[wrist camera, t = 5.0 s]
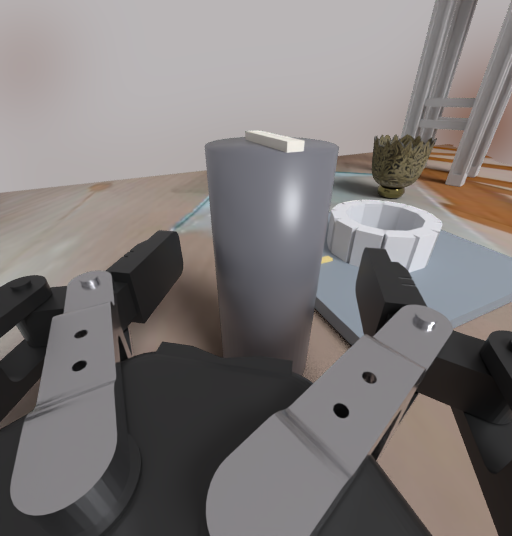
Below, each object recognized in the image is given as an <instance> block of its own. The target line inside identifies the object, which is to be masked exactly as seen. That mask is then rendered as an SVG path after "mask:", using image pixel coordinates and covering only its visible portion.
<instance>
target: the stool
mask: <svg viewBox="0 0 512 536" xmlns="http://www.w3.org/2000/svg"><path fill="white" fill-rule="evenodd" d="M477 1H478V0H436V1H435V5H434V9H433V13H432V17H431V21H430V25H429V28H428V32H427V36H426V40H425V44H424V48H423V52H422V56H421V60H420V64H419V68H418V72H417V76H416V80H415V84H414V88H413V91H412V96H411V99H410V103H409V107H408V111H407V115H406V119H405V123H404V127H403V131H402V135H401V138H402V137H404V136H405V135H407V134H408V135H410V136H412V137H413V138H414V139H415V138H416V137H418V136H421V137H422V139H421V141H423V142H425V144H426V142H427V141H428V140H429V139H430V138H431V137H433V140H434V138H435V135H436V132H437V129H452V130H464V133H463V136H462V139H461V141H460V144H459V147H458V149H457V152H456V155H455V158H454V161H453V163H452V166H451V169H450V172H449V174H448V177H447V180H446V183H445V184H447V185H453V186H459V187H460V186H462V185H463V184H464V182H465V180H466V177H467V176H468V177H475V176H477V175H478V172H479V170H480V167H481V165H482V163H483V160H484V158H485V155H486V153H487V151H488V148H489V146H490V143H491V141H492V138H493V136H494V134H495V131H496V129H497V127H498V124H499V121H500V119H501V117H502V115H503V112H504V110H505V107H506V105H507V102H508V100H509V98H510V95H511V93H512V0H511V3H510V6H509V8H508V11H507V14H506V17H505V19H504V22H503V25H502V28H501V31H500V33H499V36H498V39H497V42H496V44H495V47H494V50H493V53H492V55H491V58H490V61H489V64H488V67H487V70H486V72H485V75H484V78H483V81H482V83H481V86H480V89H479V91H478V94H477V97H476V98H447V97H448V94H449V91H450V87H451V84H452V81H453V78H454V75H455V71H456V68H457V65H458V62H459V59H460V56H461V52H462V49H463V46H464V43H465V40H466V36H467V33H468V30H469V27H470V24H471V20H472V17H473V14H474V11H475V8H476V5H477ZM444 107H473V108H472V111H471V114H470V117H469V118H444V117H441V116H442V113H443V110H444ZM427 161H428V160H427ZM426 164H427V162H426ZM426 164H425V167H426ZM425 167H424V168H425Z"/></svg>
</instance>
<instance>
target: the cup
mask: <svg viewBox="0 0 512 536" xmlns="http://www.w3.org/2000/svg"><path fill="white" fill-rule="evenodd" d="M421 139H422V137H421V136H418V137H416V138H415V139H414V138H413V137H412V136H410V135H408V134H407V135H405V136H404V137H402V138H401V139H399V140H398V136H397V135H395V136H394V137H393V139H392V140H391V138H390V136H389V135H386V136H385V137H383V135H382V136H381V137H380V139H378V138H377V136H376V137H375V138H374V149H373V159H372V175H373V178H374V180H375V181H376V182H377V183H378V184H380V185H379V187H378V188H377V191H378V194H379V195H380V196H382V197H385V198H399V197H401V196H402V195H403V194H404V192H405V190H404V187H407V186H409V185H411V184H413V183H414V182H415V181H416V180H417V179H418V178H419V176H420V174H421V173H422V171H423V169H424V167H425V164H426V162H427V160H428V158H429V155H430V153H431V151H432V148H433V146H434V144H435V142H436V140H437V139H434V140H433V137H431V138H430V139H429V140H428V141H427V142H426V144H425V142H423V141H421Z"/></svg>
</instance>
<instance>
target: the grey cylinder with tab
mask: <svg viewBox="0 0 512 536" xmlns="http://www.w3.org/2000/svg"><path fill="white" fill-rule="evenodd" d="M245 133H246V137H240V138H229V139H222V140H216V141H213V142H209V143H207V144H206V145H205V155H206V166H207V177H208V188H209V200H210V211H211V222H212V233H213V245H214V256H215V267H216V278H217V290H218V301H219V312H220V324H221V335H222V346H223V357H224V358H233V357H248V356H263V357H270V358H277V359H284V360H290V361H293V364H292V372H294V373H297V374H299V375H301V376H302V375H303V373H304V370H305V365H306V359H307V353H308V346H309V340H310V333H311V327H312V320H313V313H314V307H315V300H316V294H317V287H318V281H319V274H320V268H321V261H322V255H323V248H324V242H325V235H326V229H327V222H328V215H329V209H330V202H331V196H332V189H333V183H334V176H335V170H336V163H337V157H338V150H339V147H338V146H337V145H336V144H333V143H330V142H326V141H320V140H315V139H306V138H293V137H286V136H281V135H277V134H273V133H268V132H264V131H260V130H259V131H245Z"/></svg>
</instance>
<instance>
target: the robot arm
mask: <svg viewBox="0 0 512 536" xmlns="http://www.w3.org/2000/svg"><path fill="white" fill-rule="evenodd" d="M182 271H183V258H182V252H181V246H180V240H179V236H178V233H177V232H174V231H162V230H159V231H157V232H156V233H155V234H154V235H153V236H151V237H150V238H149V239H148V240H146V241H144V242H142V243H140V244H137V245H136V246H135V247H134V248H132V249H131V250H130V252H128V253H126V254H125V255H124V257H122V258H120V259H119V260H118V261H117V262H116V263H114V264H113V265H112V266H111V267H110V268H108V269H107V270H106V271H101V270H100V271H91V272H87V273H84V274H81V275H79V276H77V277H75V278H74V279H72V280H71V281H70V282H69V283H68V286H62V287H51V288H50V287H49V284H48V282H47V280H46V279H45V277H43V276H38V275H33V276H26V277H22V278H18V279H15V280H13V281H10V282H8V283H6V284H5V285H3V286H2V287H0V338H1V337H2V336H3V335H4V334H6V333H7V332H8V331H9V330H11V329H12V328H13V327H14V326H15V325H16V326H17V327H18V329H19V330H20V332H21V334H22V335H23V337H24V338H25V339H24V340H23V341H22V342H21V343H20V344H19V345H17V346H16V347H15V348H14V349H13V350H12V351H11V352H10V353H9V354H7V355H6V356H5V357H4V358H3V359H2V360H1V361H0V422H1V420H2V419H3V418H4V417H5V416H6V415H7V414H8V413H9V412H10V411H11V409H12V408H13V407H14V406H15V405H16V404H17V403H18V402H19V401H20V400H21V398H22V397H23V396H24V395H25V394H26V393H27V392H28V391H29V390H30V388H31V387H32V386H33V385H34V384H35V383H36V382H37V381H38V380H39V379H40V377H41V382H40V387H39V392H38V398H37V403H36V406H35V408H34V410H33V411H31V412H30V413H29V414H27V415H25V416H23V417H22V418H20V419H18V420H16V421H15V422H13V423H11V424H9V425H7V426H6V427H4V428H2V429H0V536H432V535H431V533H430V532H429V531H428V529H427V528H426V527H425V525H424V524H423V523H422V521H421V520H420V519H419V517H418V516H417V515H416V513H415V512H414V511H413V509H412V508H411V507H410V505H409V504H408V503H407V501H406V500H405V499H404V497H403V496H402V495H401V493H400V492H399V491H398V489H397V488H396V487H395V485H394V484H393V483H392V481H391V480H390V479H389V477H388V476H387V475H386V473H385V472H384V471H383V469H382V468H381V467H380V465H379V464H378V463H377V462H378V460H379V458H380V457H381V455H382V454H383V452H384V450H385V448H386V447H387V445H388V443H389V442H390V440H391V438H392V436H393V435H394V433H395V431H396V430H397V428H398V427H399V425H400V424H401V422H402V420H403V419H404V417H405V416H406V414H407V413H408V411H409V410H410V408H411V406H412V405H413V403H414V402H415V400H416V399H417V397H418V395H419V394H420V393H421V394H423V395H426V396H428V397H430V398H433V399H435V400H438V401H440V402H442V403H445V404H447V405H450V406H451V409H452V411H453V414H454V417H455V419H456V422H457V425H458V428H459V430H460V433H461V436H462V438H463V441H464V444H465V446H466V449H467V452H468V454H469V457H470V460H471V463H472V465H473V468H474V471H475V473H476V476H477V479H478V481H479V484H480V487H481V490H482V492H483V495H484V498H485V500H486V503H487V506H488V508H489V511H490V514H491V516H492V519H493V522H494V525H495V527H496V530H497V533H498V535H499V536H512V332H510V331H495V332H492V333H491V334H490V335H489V337H488V338H487V340H486V341H484V340H481V339H478V338H474V337H471V336H468V335H465V334H462V333H459V332H456V331H454V330H453V326H452V324H451V322H450V321H449V320H448V319H447V318H446V317H445V316H444V315H443V314H441V313H440V312H438V311H436V310H434V309H432V308H429V307H427V305H426V303H425V301H424V300H423V298H422V296H421V294H420V292H419V290H418V288H417V287H416V286H415V283H414V281H413V280H412V277H411V275H410V273H409V271H408V270H407V269H406V268H405V267H404V266H402V265H401V264H400V263H399V262H391V260H390V258H389V255H388V253H387V251H386V249H380V248H368V247H365V248H364V250H363V254H362V258H361V262H360V266H359V271H358V275H357V279H356V286H355V293H356V299H357V304H358V309H359V314H360V318H361V323H362V328H363V333H364V335H363V336H362V337H361V338H360V339H359V340H358V341H357V342H356V343H355V344H354V345H353V346H352V347H351V348H350V349H348V350H347V351H346V352H345V353H344V354H343V355H342V356H341V357H340V358H339V359H338V360H337V361H336V362H335V363H334V364H333V365H332V366H331V367H330V368H329V369H328V370H327V371H326V372H325V373H324V374H323V375H322V376H321V377H320V378H319V379H318V380H316V381H315V382H314V383H312V382H311V381H309V380H308V379H306V378H305V377H303V376H301V375H299V374H297V373H294V372H292V364H293V361H290V360H284V359H277V358H270V357H263V356H248V357H233V358H221V357H218V356H216V355H213V354H211V353H209V352H206V351H204V350H201V349H199V348H196V347H194V346H189V345H182V344H175V343H169V342H162V343H161V345H160V346H159V348H158V350H157V351H156V352H149V353H144V354H140V355H137V356H134V351H133V345H132V338H131V332H130V329H129V326H128V325H129V324H130V323H131V322H136V323H145V322H146V321H147V319H148V318H149V317H150V315H151V314H152V313H153V311H154V310H155V309H156V307H157V306H158V305H159V303H160V302H161V301H162V299H163V298H164V297H165V295H166V294H167V293H168V291H169V290H170V289H171V287H172V286H173V285H174V283H175V282H176V281H177V279H178V278H179V277H180V275H181V274H182Z"/></svg>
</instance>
